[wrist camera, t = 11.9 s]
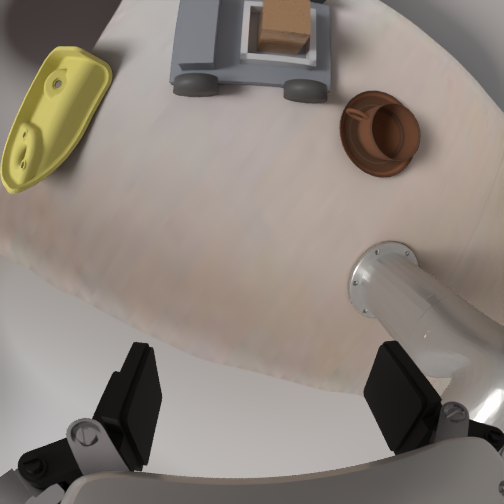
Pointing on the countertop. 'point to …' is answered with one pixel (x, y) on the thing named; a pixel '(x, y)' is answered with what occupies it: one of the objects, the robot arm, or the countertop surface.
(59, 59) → the plastic component
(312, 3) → the chassis
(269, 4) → the wooden block
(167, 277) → the countertop surface
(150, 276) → the countertop surface
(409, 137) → the cup and saucer
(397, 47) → the countertop surface
